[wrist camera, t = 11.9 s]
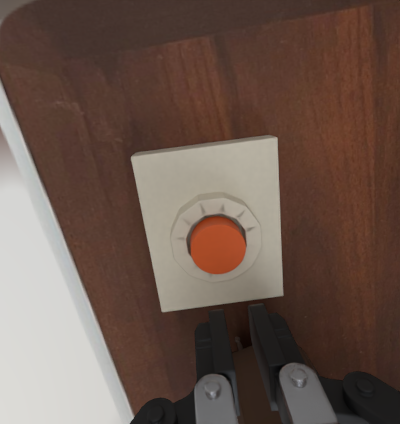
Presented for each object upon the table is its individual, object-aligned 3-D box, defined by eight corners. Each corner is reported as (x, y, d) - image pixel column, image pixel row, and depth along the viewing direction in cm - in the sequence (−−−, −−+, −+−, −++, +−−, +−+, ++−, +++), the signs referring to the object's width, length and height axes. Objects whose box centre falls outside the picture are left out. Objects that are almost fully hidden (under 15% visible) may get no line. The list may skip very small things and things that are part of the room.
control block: (135, 152, 24) (125, 160, 20) (269, 134, 24) (285, 139, 20) (163, 297, 29) (160, 326, 25) (276, 282, 29) (290, 308, 25)
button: (186, 219, 22) (187, 228, 21) (239, 212, 22) (244, 220, 21) (193, 266, 24) (194, 278, 22) (243, 259, 24) (248, 270, 22)
